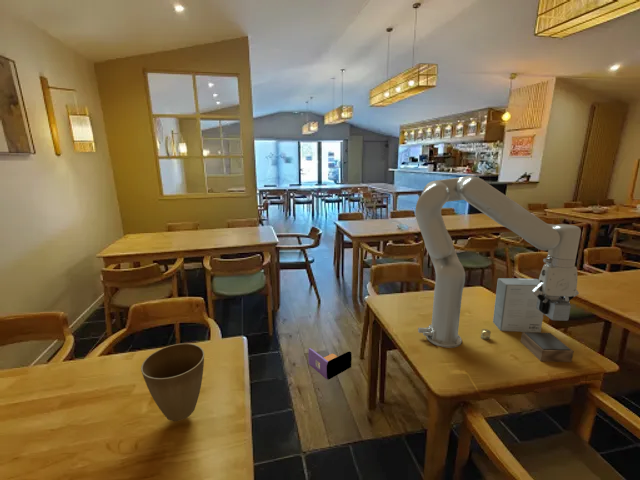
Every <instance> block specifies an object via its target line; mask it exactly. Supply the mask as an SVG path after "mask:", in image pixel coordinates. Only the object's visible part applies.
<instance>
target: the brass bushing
mask: <svg viewBox="0 0 640 480" xmlns="http://www.w3.org/2000/svg"><path fill="white" fill-rule="evenodd" d="M491 333H492V332H491V331H490V330H489V329H485V328H483V329H481V334H480V339H482V340H483V341H490V340H491Z"/></svg>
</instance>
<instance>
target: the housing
mask: <svg viewBox="0 0 640 480" xmlns="http://www.w3.org/2000/svg"><path fill="white" fill-rule="evenodd" d="M539 294H541V293H539ZM544 297H545V296H544ZM547 303H548V309H547V314H544V313H543V315H544V316H546V317H548V318H549V319H550V320H551V321H564V322H565V321H569V318H570V314H571V313H570V312H571V308H572V305H571V303H570V301H569V302H567V301H565V300H564V299H562V298H560V296H550V297H549V299H548V301H547ZM539 305H540V300H539V299H537V305H536V309H538V310H539ZM539 311H540V310H539ZM540 312H541V311H540Z"/></svg>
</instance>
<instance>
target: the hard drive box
mask: <svg viewBox="0 0 640 480" xmlns="http://www.w3.org/2000/svg"><path fill="white" fill-rule="evenodd" d="M538 281H539V278H519V277H518V278H515V277H514V278H513V277H512V278H511V277H510V278H508V277H507V278H504V277H503V278H502V277H501V278H500V277H499V278H497V281H496V282H497V284H496V291H495V301H494V309H493V318H492V323H493V324H494V326H496V328H497V329H498V330H499V331H501V332H521V333H522V332H537V333H542V326H543V319H544V314H543V313H542V312H540V311H539V310H538V309H536V305H537V299H538V297H537V296H536V295H534V294H533V293H532V290H533V289H534V288H535V287H536V286H537V285H538ZM539 293H541V291H539Z"/></svg>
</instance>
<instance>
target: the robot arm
mask: <svg viewBox="0 0 640 480" xmlns="http://www.w3.org/2000/svg"><path fill="white" fill-rule="evenodd" d="M463 200H464V201H465V202H466V203H468V204H469V205H471V207H473V208H475V209H477V211H479V212H481V213H483V214H484V215H485V216H486V217H488V218H490V219H491V220H493V221H494V222H495V223H496V224H499V225H501V226H502V227H504V228H506V229H508V230H509V231H511V232H513V233H514V234H516V235H517V236H519V237H520V238H522V239H523V240H524V241H525V242H527V243H529V244H530V245H531V246H533V247H535V249H538V250H540V251H541V250H542V251H547V256H546V258H543V260H542V262H543V263H544V264H543V266H542V269H541V271H540V274H539V277H538V280H539V281H538V285H537V286H536V287H535V288H534V289H533V290H532V293H533V294H534V295H536V296H537V297H538V299H539V300H540V305H539V310H540V311H541V312H542V313H544V314H543V315H545V314H547V309H548V303H547V301H548V299H549V297H550V296H559V297H560V298H562V299H564V300H565V301H567V302H569V303H570V301H571V300H573V299H574V298H575V297H577V296H578V295H579V294H580V293H579V291H578V289H577V288H578V268H577V266H576V260H577V254H578V249H579V245H580V239H581V233H582V231H581V227H579V226H577V225H574V224H566V223H561V224H560V223H559V224H554V223H547V222H546V221H544V220H542V219H541V218H539V217H538V216H536V215H534V214H533V213H532V212H531V211H529V210H527V209H526V208H524V207H523V206H522V205H520V204H519V203H518V202H516V201H515V200H513V199H511V198H510V197H508V196H507V195H505V193H503V192H501V191H499V190H498V189H497V188H495V187H494V186H492V185H491V184H489V183H488V182H486V181H485V180H483V179H482V178H480V177H478V176H473V175H466V176H461V177H453V178H452V177H451V178H445V179H438V180H432V181H429V182H428V183H427V184H426V185H425V186H424V188H423V190H422V193H421V195H420V196H419V197H418V199H417V201H416V205H415V211H414V213H415V218H416V222H417V226H418V228H419V230H420V233H421V236H422V239H423V242H424V247H425V249H426V251H427V253H428V255H429V257H430V260H431V262H432V266H433V268H434V271H435V272H434V273H435V283H434V291H433V303H432V314H431V315H432V316H431V317H432V318H431V324H428V326H427V327H417V328H418V329H417V330H418V331H417V332H418V334H419V333H420V334H422V335H423V336H425V337H426V339H427V341H428V342H430V343H431V344H433V345H435V346H438V347H440V348H441V347H442V348H447V349H448V348H449V349H452V348H453V349H454V348H457V347H460V346H461V345H462V341H463V340H462V337H461V336H460V335H459V327H460V318H461V317H460V316H461V308H462V299H463V298H462V297H463V291H464V287H465V282H466V272H465V268H464V266H463V264H462V263H461V261H460V259H459V257H458V254H457V251H456V250H455V246H454V244H453V240H452V237H451V235H450V233H449V231H448V229H447V226H446V224H445V221H444V218H443V215H442V209H443V207H444V206H445V204H446V203H449V202H457V201H463ZM539 291H541V294H539ZM544 296H545V297H544Z"/></svg>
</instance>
